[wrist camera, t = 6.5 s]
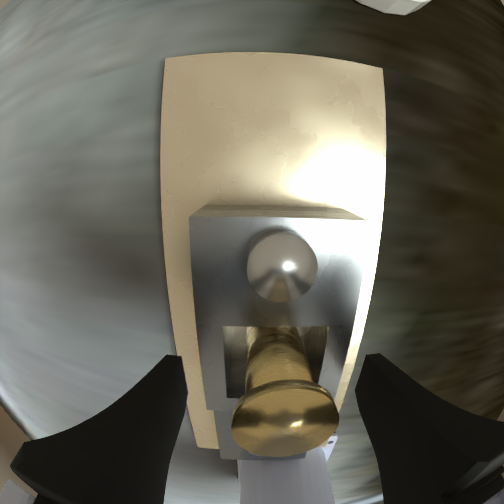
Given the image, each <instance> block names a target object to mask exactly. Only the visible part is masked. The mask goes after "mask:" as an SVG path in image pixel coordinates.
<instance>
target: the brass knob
mask: <svg viewBox="0 0 504 504" xmlns="http://www.w3.org/2000/svg"><path fill="white" fill-rule="evenodd" d="M338 423H339V413H338V410H337V407H336V404H335V402H334V399H333V397H332V395H331V394H330V392H329V391H328V390H327V389H325V388H324V387H322V386H321V385H319V384H316V383H315V382H314V379H313V376H312V373H311V370H310V367H309V363H308V360H307V357H306V354H305V351H304V348H303V345H302V342H301V339H300V336H299V333H298V329H297V327H247V330H246V390H245V394H244V395H243V396H242V397H241V398H240V399H239V400H238V401H237V403H236V404H235V406H234V408H233V412H232V424H231V433H232V436H233V438H234V440H235V441H236V443H237V444H238V445H240V446H241V447H242V448H244V449H245V450H247V451H249V452H252V453H255V454H258V455H262V456H269V457H284V456H292V455H297V454H301V453H304V452H307V451H309V450H312V449H314V448H316V447H318V446H319V445H321V444H322V443H324V442H325V441H326V440H327V439H329V438H330V437H331V436H332V434H333V433H334V432H335V430H336V428H337V426H338Z"/></svg>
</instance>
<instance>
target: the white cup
mask: <svg viewBox="0 0 504 504" xmlns="http://www.w3.org/2000/svg"><path fill="white" fill-rule="evenodd" d="M355 1H357V2H359V3H360V4H363V5H366V6H368V7H371V8H373V9H376V10H378V11H381V12H383V13H390V14H398V15H407V14H409V13H411V12H414V11H416V10H418V9H420V8H421V7H422V6H424V5H425V4H427V3H428V2H430V1H431V0H355Z"/></svg>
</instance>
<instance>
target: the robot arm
mask: <svg viewBox="0 0 504 504" xmlns="http://www.w3.org/2000/svg"><path fill="white" fill-rule="evenodd" d="M355 393H356V398H357V403H358V407H359V411H360V413H361V416H362V419H363V422H364V424H365V427H366V430H367V432H368V435H369V437H370V440H371V443H372V446H373V448H374V451H375V454H376V458H377V462H378V467H379V471H380V477H381V483H382V490H383V499H384V504H504V478H503V477H502V475H501V474H502V473H503V472H504V467H503V466H502V465H503V464H504V422H501V421H496V420H492V419H488V418H484V417H481V416H478V415H475V414H473V413H470V412H468V411H465V410H463V409H460V408H458V407H456V406H454V405H452V404H450V403H448V402H447V401H445V400H443V399H441V398H440V397H438V396H436V395H435V394H433V393H432V392H430V391H429V390H427V389H426V388H424V387H423V386H421V385H420V384H419V383H417V382H416V381H415V380H413V379H412V378H411V377H409V376H408V375H407V374H405V373H404V372H403V371H402V370H400V369H399V368H398V367H397V366H395V365H394V364H393V363H392V362H390V361H389V360H388V359H386V358H385V357H384V356H382V355H381V354H380V353H378V354H370V355H366V357H365V360H364V364H363V367H362V370H361V373H360V376H359V379H358V382H357V385H356V388H355ZM187 396H188V388H187V383H186V378H185V372H184V367H183V361H182V356H175V355H166V356H165V357H164V358H163V359H162V360H161V361H160V362H159V363H158V364H157V365H156V366H155V367H154V368H153V369H152V370H151V371H150V372H149V373H148V374H147V375H146V376H145V377H143V378H142V379H141V380H140V381H139V382H138V383H137V384H136V385H135V386H134V387H133V388H132V389H130V390H129V391H128V392H127V393H126V394H124V395H123V396H122V397H121V398H119V399H118V400H117V401H116V402H114V403H113V404H112V405H110V406H109V407H107V408H106V409H105V410H103V411H101V412H100V413H98V414H97V415H95V416H93V417H92V418H90V419H88V420H86V421H84V422H82V423H80V424H78V425H76V426H74V427H72V428H70V429H67V430H65V431H62V432H60V433H57V434H54V435H51V436H48V437H44V438H41V439H37V440H32V441H28V442H24V443H23V445H22V447H21V448H20V450H19V452H18V453H17V455H16V456H15V458H14V460H13V461H12V463H11V465H10V467H11V469H12V471H13V472H14V473H15V474H16V475H17V476H18V477H19V478H20V479H21V480H23V481H24V482H25V483H26V484H27V485H29V486H30V487H31V488H32V489H33V490H35V491H36V492H37V493H38V495H37V497H36V498H35V497H34V496H32V495H31V494H29V493H28V492H27V491H25V490H24V489H22V488H21V487H19V486H18V485H17V484H15V483H14V482H12V481H11V480H10V479H8V480H7V482H6V484H5V486H4V488H3V490H2V491H1V493H0V504H163V503H164V495H165V487H166V480H167V474H168V468H169V463H170V459H171V455H172V452H173V449H174V446H175V443H176V439H177V436H178V433H179V430H180V427H181V423H182V420H183V417H184V414H185V408H186V403H187ZM337 438H338V436H337V434H336V433H333V434H332V436H331V437H330V438H329V439H328V442H327V444H326V447H320V448H314V449H312V450H309V451H307V453H306V456H305V458H302V459H287V460H237V464H238V479H239V482H240V483H241V495H240V504H335V503H334V498H333V492H332V487H331V482H330V476H329V471H328V466H327V460H328V458H329V456H330V454H331V452H332V449H333V447H334V445H335V443H336V441H337Z"/></svg>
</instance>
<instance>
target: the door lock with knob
mask: <svg viewBox="0 0 504 504" xmlns="http://www.w3.org/2000/svg"><path fill="white" fill-rule="evenodd" d="M385 168H386V114H385V95H384V82H383V71H382V68H378V67H373V66H369V65H365V64H360V63H355V62H350V61H345V60H339V59H332V58H326V57H318V56H310V55H300V54H288V53H270V52H228V53H210V54H198V55H188V56H180V57H172V58H166V59H165V68H164V80H163V94H162V112H161V145H160V175H161V209H162V228H163V243H164V256H165V267H166V277H167V286H168V295H169V303H170V311H171V318H172V325H173V332H174V338H175V345H176V351H177V356H182V361H183V367H184V372H185V378H186V383H187V388H188V396H187V406H188V411H189V415H190V419H191V423H192V427H193V431H194V435H195V439H196V443H197V446H198V447H200V448H210V449H219V452H220V458H221V459H231V460H287V459H302V458H305V456H306V453H307V452H304V453H301V454H297V455H292V456H284V457H269V456H262V455H258V454H255V453H252V452H249V451H247V450H245V449H244V448H242V447H241V446H240V445H238V444H237V443H236V441H235V440H234V438H233V436H232V433H231V424H232V412H233V408H234V406H235V404H236V403H237V401H238V400H239V399H240V398H241V397H242V396H243V395H244V394H245V390H246V330H247V327H297V329H298V333H299V336H300V339H301V342H302V345H303V348H304V351H305V354H306V357H307V360H308V363H309V367H310V370H311V373H312V376H313V379H314V382H315V383H316V384H319V385H321V386H322V387H324V388H325V389H327V390H328V391H329V392H330V394H331V395H332V397H333V399H334V402H335V404H336V407H337V410H338V413H339V410H340V408H341V405H342V402H343V399H344V396H345V393H346V390H347V387H348V384H349V381H350V377H351V374H352V371H353V367H354V364H355V360H356V357H357V353H358V349H359V345H360V342H361V338H362V334H363V329H364V325H365V321H366V316H367V312H368V307H369V302H370V297H371V292H372V287H373V281H374V275H375V269H376V263H377V256H378V249H379V242H380V234H381V225H382V215H383V203H384V189H385ZM327 442H328V439H327V440H326V441H325V442H324V443H322V444H321V445H319V446H318V447H316V448H320V447H326V444H327Z"/></svg>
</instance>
